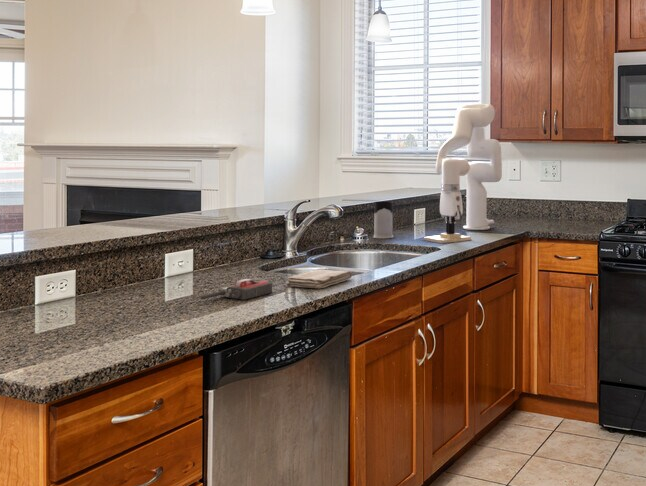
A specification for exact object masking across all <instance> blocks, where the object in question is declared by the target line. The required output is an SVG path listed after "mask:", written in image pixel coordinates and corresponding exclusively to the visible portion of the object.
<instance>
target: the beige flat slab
mask: <svg viewBox="0 0 646 486" xmlns="http://www.w3.org/2000/svg"><path fill="white" fill-rule="evenodd" d="M445 233H446V232H441V233H439V235H430V236H423V241H425V242H432V243H438V244H448V243H458V242H465V241H472V236H469V235H462V233H458V232H455V233H456V234H445Z"/></svg>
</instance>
